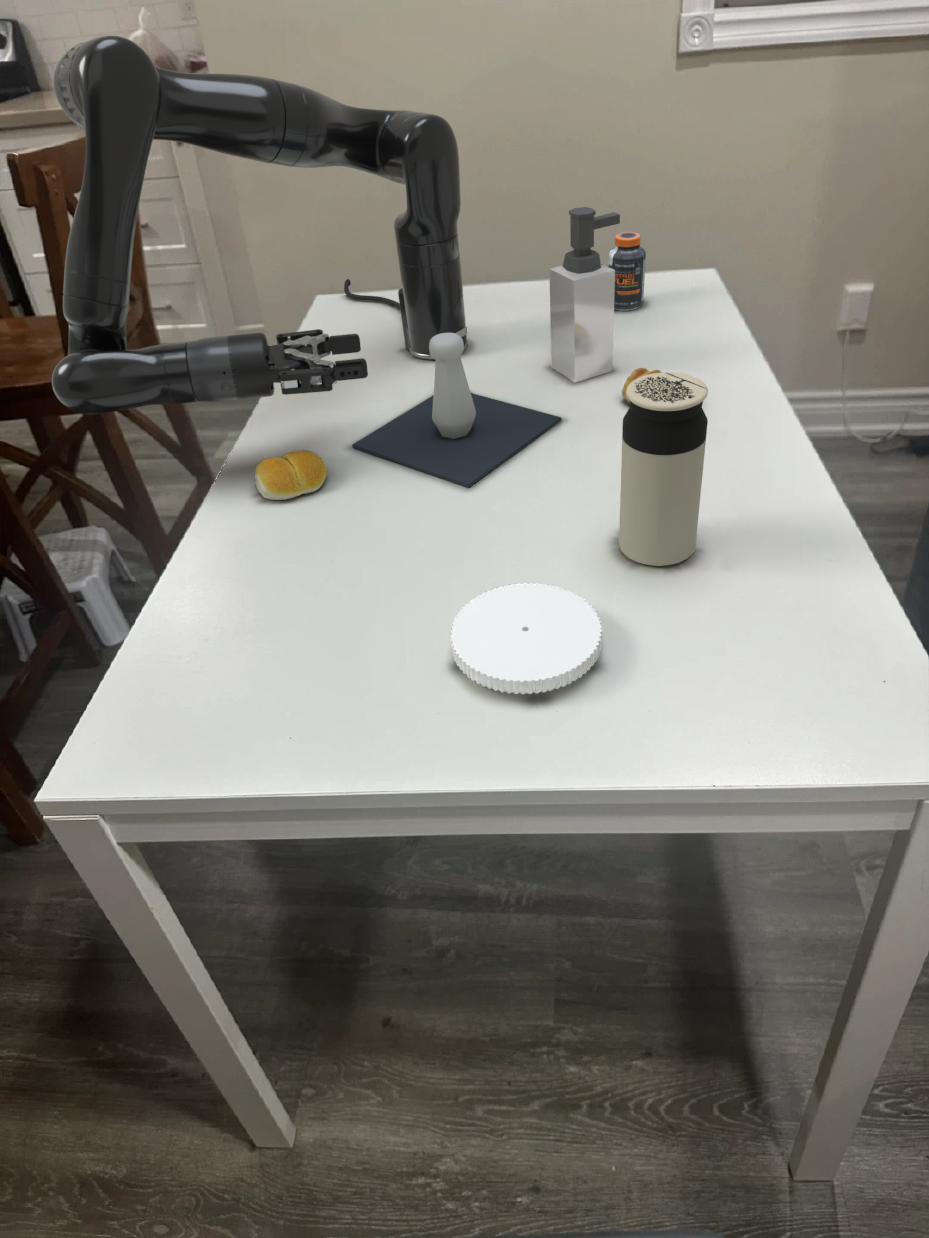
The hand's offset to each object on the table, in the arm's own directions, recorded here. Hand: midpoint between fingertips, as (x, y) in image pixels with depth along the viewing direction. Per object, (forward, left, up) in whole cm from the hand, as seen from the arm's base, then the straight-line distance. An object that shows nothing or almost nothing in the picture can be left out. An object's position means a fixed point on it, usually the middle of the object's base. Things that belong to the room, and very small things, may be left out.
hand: (363, 354), depth 107 cm
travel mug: (+42, -1, -13) cm, 44 cm away
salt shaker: (+7, +7, -12) cm, 16 cm away
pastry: (+25, +29, -13) cm, 40 cm away
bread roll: (-3, -13, -13) cm, 19 cm away
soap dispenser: (+11, +34, -13) cm, 38 cm away
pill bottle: (+3, +58, -13) cm, 59 cm away
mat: (+7, +8, -12) cm, 16 cm away
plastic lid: (+40, -22, -13) cm, 48 cm away
